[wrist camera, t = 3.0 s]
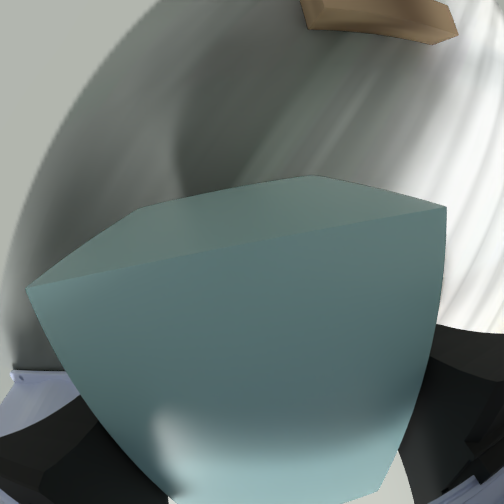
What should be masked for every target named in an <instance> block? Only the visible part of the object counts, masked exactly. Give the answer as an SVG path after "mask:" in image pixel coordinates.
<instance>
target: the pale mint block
mask: <svg viewBox="0 0 504 504" xmlns="http://www.w3.org/2000/svg"><path fill="white" fill-rule="evenodd" d="M446 220H447V207H446V206H442V205H439V204H436V203H432V202H429V201H425V200H422V199H418V198H414V197H410V196H407V195H403V194H399V193H395V192H391V191H387V190H383V189H379V188H374V187H370V186H366V185H361V184H356V183H352V182H347V181H342V180H337V179H332V178H327V177H322V176H316V175H308V176H301V177H294V178H288V179H281V180H275V181H269V182H263V183H257V184H251V185H246V186H240V187H235V188H230V189H224V190H219V191H214V192H209V193H204V194H199V195H195V196H190V197H185V198H181V199H176V200H172V201H167V202H163V203H159V204H155V205H150V206H146V207H142V208H139V209H137V210H135V211H134V212H132V213H131V214H129V215H127V216H126V217H124V218H123V219H121V220H119V221H118V222H116V223H115V224H113V225H112V226H110V227H109V228H107V229H106V230H104V231H103V232H101V233H100V234H98V235H97V236H95V237H94V238H92V239H91V240H89V241H88V242H86V243H85V244H83V245H82V246H80V247H79V248H78V249H76V250H75V251H73V252H72V253H71V254H69V255H68V256H66V257H65V258H64V259H62V260H61V261H60V262H58V263H57V264H56V265H54V266H53V267H52V268H50V269H49V270H48V271H46V272H45V273H44V274H42V275H41V276H40V277H39V278H37V279H36V280H35V281H33V282H32V283H31V284H30V285H28V286H27V287H26V288H25V290H26V292H27V295H28V297H29V300H30V302H31V304H32V307H33V309H34V311H35V313H36V316H37V318H38V320H39V322H40V324H41V326H42V328H43V330H44V333H45V335H46V336H47V338H48V340H49V342H50V344H51V346H52V348H53V350H54V352H55V354H56V355H57V357H58V359H59V361H60V362H61V364H62V366H63V368H64V369H65V371H66V373H67V374H68V376H69V378H70V379H71V381H72V382H73V384H74V385H75V387H76V389H77V390H78V392H79V393H80V395H81V396H82V398H83V399H84V401H85V402H86V403H87V405H88V406H89V408H90V409H91V411H92V412H93V413H94V415H95V416H96V417H97V419H98V420H99V421H100V423H101V424H102V425H103V427H104V428H105V429H106V430H107V432H108V433H109V434H110V435H111V437H112V438H113V439H114V440H115V441H116V443H117V444H118V445H119V446H120V447H121V449H122V450H123V451H124V452H125V453H126V454H127V455H128V456H129V458H130V459H131V460H132V461H133V462H134V463H135V464H136V465H137V466H138V467H139V468H140V469H141V470H142V471H143V472H144V473H145V475H146V476H147V477H148V478H149V479H150V480H152V481H153V482H154V483H155V484H156V485H157V486H158V487H159V488H160V489H161V490H162V491H163V492H164V493H165V494H166V495H167V496H169V497H170V498H171V499H172V500H173V501H174V502H175V503H177V504H343V503H345V502H349V501H352V500H355V499H357V498H360V497H363V496H366V495H369V494H371V493H374V492H376V491H378V490H379V488H380V486H381V484H382V482H383V480H384V478H385V476H386V474H387V472H388V470H389V468H390V466H391V464H392V462H393V460H394V457H395V455H396V453H397V451H398V448H399V446H400V444H401V441H402V439H403V436H404V434H405V431H406V429H407V426H408V423H409V421H410V418H411V415H412V412H413V409H414V406H415V403H416V400H417V397H418V394H419V391H420V388H421V384H422V381H423V377H424V374H425V370H426V366H427V362H428V358H429V354H430V350H431V346H432V341H433V337H434V332H435V327H436V321H437V315H438V310H439V303H440V296H441V289H442V281H443V271H444V260H445V246H446Z"/></svg>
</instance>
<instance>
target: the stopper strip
mask: <svg viewBox="0 0 504 504" xmlns="http://www.w3.org/2000/svg"><path fill="white" fill-rule="evenodd" d="M300 3H301V6H302V10H303V13H304V17H305V20H306V24H307V27H308V30H336V31H350V32H361V33H370V34H377V35H384V36H391V37H397V38H402V39H407V40H412V41H417V42H421V43H426V44H430V45H434V44H437V43H439V42H442V41H445V40H447V39H450V38H453V37H456V36H458V35H459V34H458V32H457V29H456V26H455V23H454V20H453V18H452V15H451V13H450V10H449V8H448V6H447V5H445V4H442V3H440V2H437V1H434V0H300Z"/></svg>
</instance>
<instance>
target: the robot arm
mask: <svg viewBox="0 0 504 504" xmlns="http://www.w3.org/2000/svg"><path fill="white" fill-rule="evenodd" d="M10 376H11V378H12V379H13V381H14V382H15V383H14V385H13V386H12V388H11V389H10V391H9V392H8V394H7V395H6V397H5V398H4V400H3V401H2V403H1V404H0V504H169V503H168V496H167V495H166V494H165V493H164V492H163V491H162V490H161V489H160V488H159V487H158V486H157V485H156V484H155V483H154V482H153V481H152V480H150V479H149V478H148V477H147V476H146V475H145V473H144V472H143V471H142V470H141V469H140V468H139V467H138V466H137V465H136V464H135V463H134V462H133V461H132V460H131V459H130V458H129V456H128V455H127V454H126V453H125V452H124V451H123V450H122V449H121V447H120V446H119V445H118V444H117V443H116V441H115V440H114V439H113V438H112V437H111V435H110V434H109V433H108V432H107V430H106V429H105V428H104V427H103V425H102V424H101V423H100V421H99V420H98V419H97V417H96V416H95V415H94V413H93V412H92V411H91V409H90V408H89V406H88V405H87V403H86V402H85V401H84V399H83V398H82V396H81V395H80V393H79V392H78V390H77V389H76V387H75V385H74V384H73V382H72V381H71V379H70V378H69V376H68V374H67V373H66V371H26V370H12V371H11V372H10ZM398 451H399V454H400V457H401V459H402V462H403V465H404V468H405V471H406V474H407V477H408V481H409V484H410V488H411V491H412V495H413V499H414V504H504V334H494V333H481V332H474V331H467V330H461V329H456V328H451V327H447V326H443V325H439V324H436V327H435V332H434V337H433V341H432V346H431V350H430V354H429V358H428V362H427V366H426V370H425V374H424V377H423V381H422V384H421V388H420V391H419V394H418V397H417V400H416V403H415V406H414V409H413V412H412V415H411V418H410V421H409V423H408V426H407V429H406V431H405V434H404V436H403V439H402V441H401V444H400V446H399V448H398Z"/></svg>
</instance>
